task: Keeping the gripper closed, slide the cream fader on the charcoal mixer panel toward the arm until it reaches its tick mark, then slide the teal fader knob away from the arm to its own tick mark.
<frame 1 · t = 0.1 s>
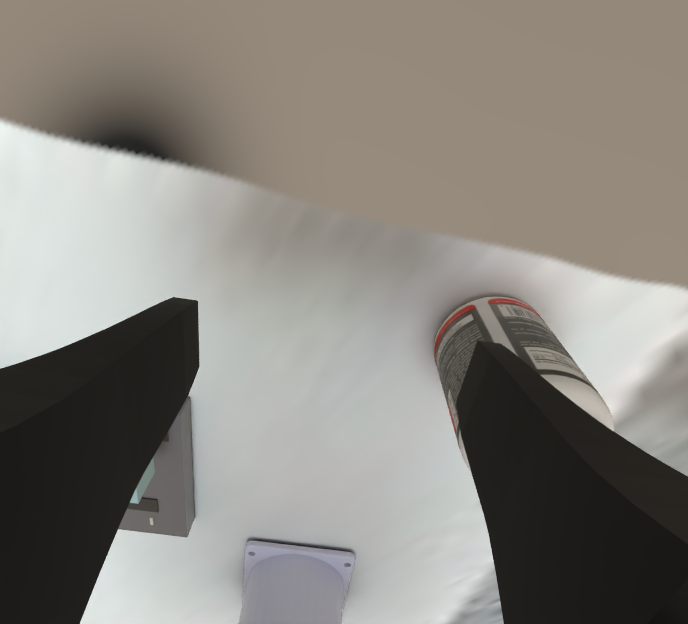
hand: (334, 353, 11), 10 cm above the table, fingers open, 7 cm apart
teal fader: (114, 456, 23), point 4 cm above the table, slide at 0.0 cm
pill bottle: (486, 338, 23), on the table
mixer panel: (86, 449, 28), on the table
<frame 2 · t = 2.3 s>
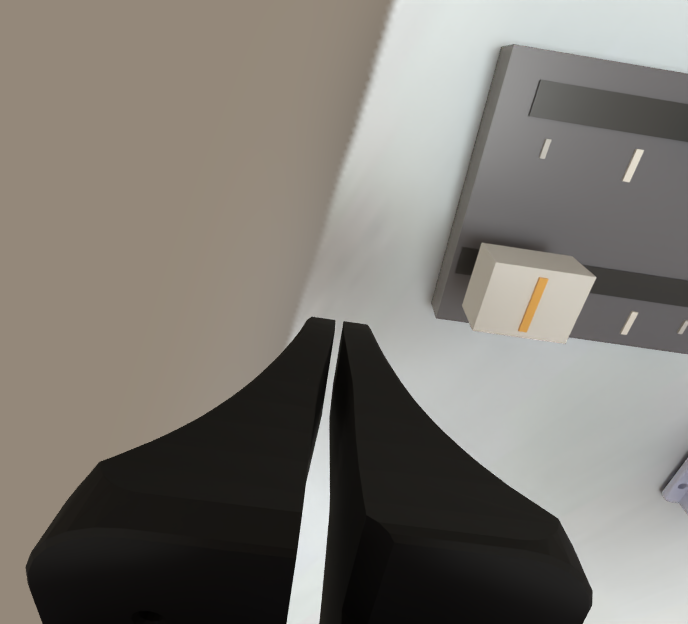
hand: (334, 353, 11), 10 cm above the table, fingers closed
cream fader: (518, 286, 17), point 4 cm above the table, slide at 0.0 cm
mixer panel: (611, 216, 19), on the table
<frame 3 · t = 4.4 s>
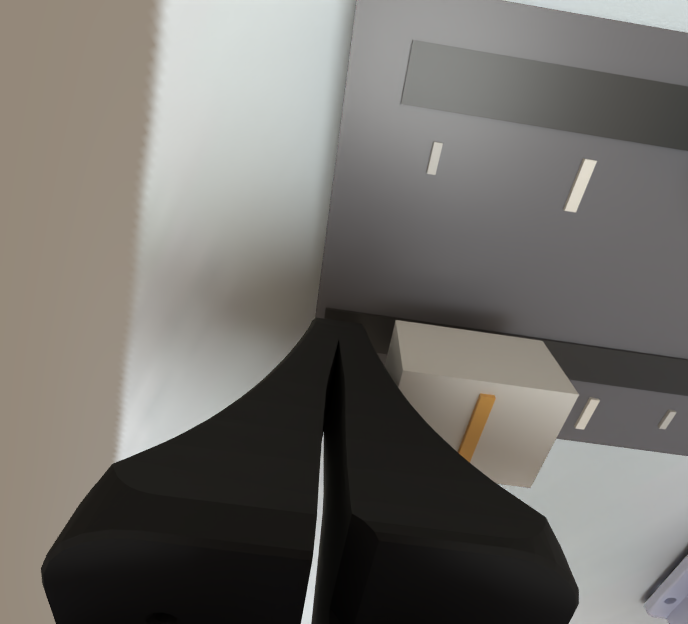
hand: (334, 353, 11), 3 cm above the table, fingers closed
cream fader: (457, 387, 11), point 4 cm above the table, slide at 1.5 cm, touching gripper
mixer panel: (557, 258, 13), on the table
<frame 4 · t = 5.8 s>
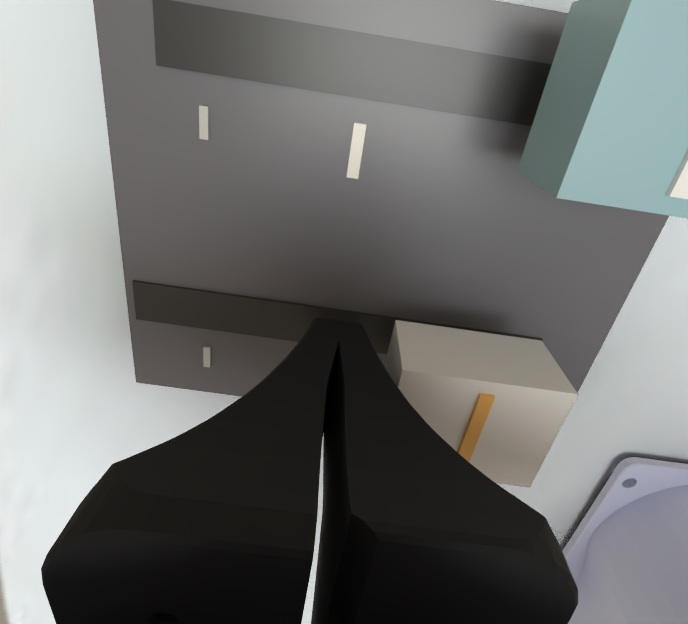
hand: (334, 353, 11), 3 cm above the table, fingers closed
cream fader: (457, 387, 11), point 4 cm above the table, slide at 6.8 cm, touching gripper
teal fader: (650, 112, 8), point 4 cm above the table, slide at 0.0 cm
mixer panel: (378, 231, 12), on the table
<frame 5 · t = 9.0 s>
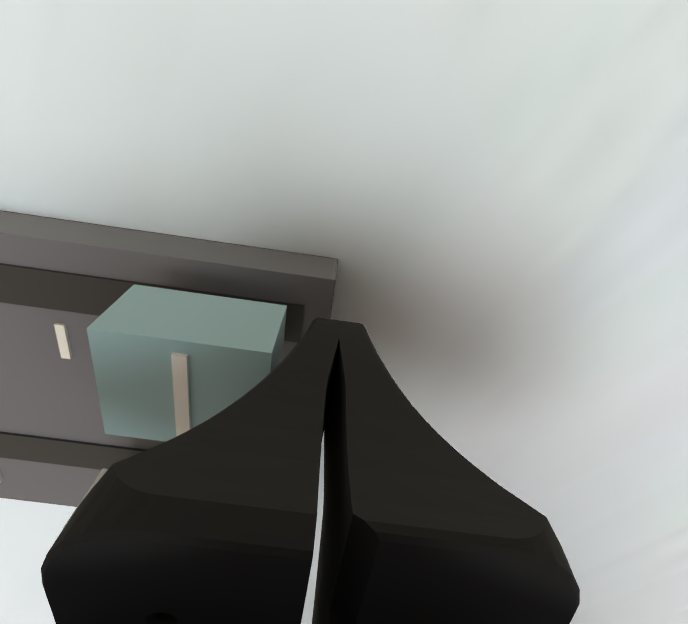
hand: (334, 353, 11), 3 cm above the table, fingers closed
cream fader: (159, 517, 14), point 4 cm above the table, slide at 6.8 cm
teal fader: (205, 354, 10), point 4 cm above the table, slide at 0.1 cm, touching gripper
mixer panel: (129, 375, 15), on the table
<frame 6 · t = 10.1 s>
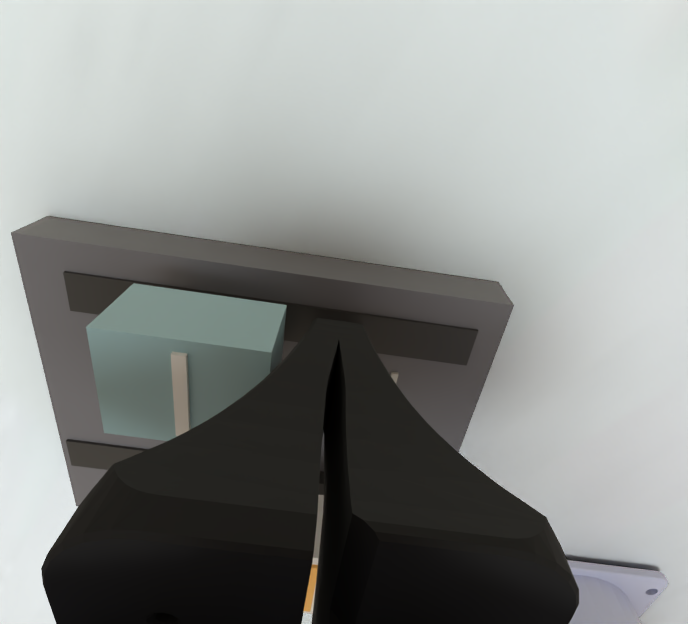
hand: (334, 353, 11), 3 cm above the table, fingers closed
cream fader: (314, 536, 14), point 4 cm above the table, slide at 6.8 cm
teal fader: (205, 353, 10), point 4 cm above the table, slide at 5.1 cm, touching gripper
mixer panel: (267, 393, 16), on the table
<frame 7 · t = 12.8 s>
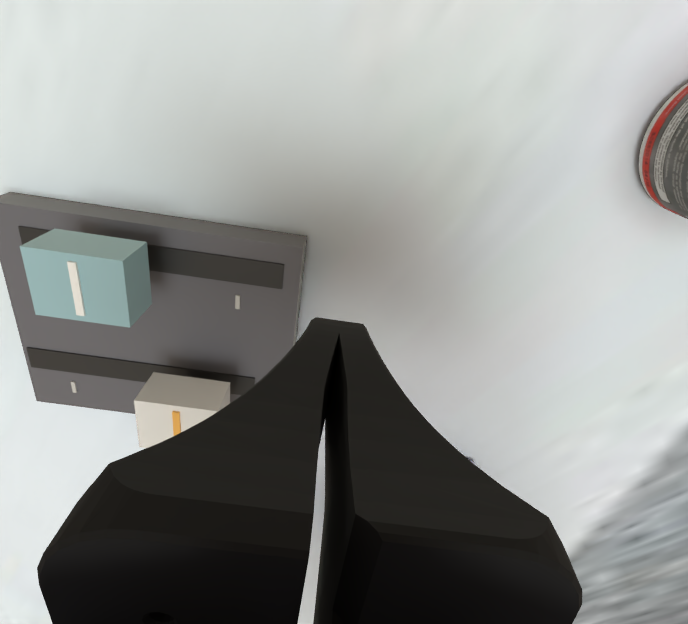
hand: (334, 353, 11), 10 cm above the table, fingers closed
cream fader: (189, 406, 21), point 4 cm above the table, slide at 6.8 cm
teal fader: (99, 272, 17), point 4 cm above the table, slide at 5.1 cm
mixer panel: (166, 317, 22), on the table
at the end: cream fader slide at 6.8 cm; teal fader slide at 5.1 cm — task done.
